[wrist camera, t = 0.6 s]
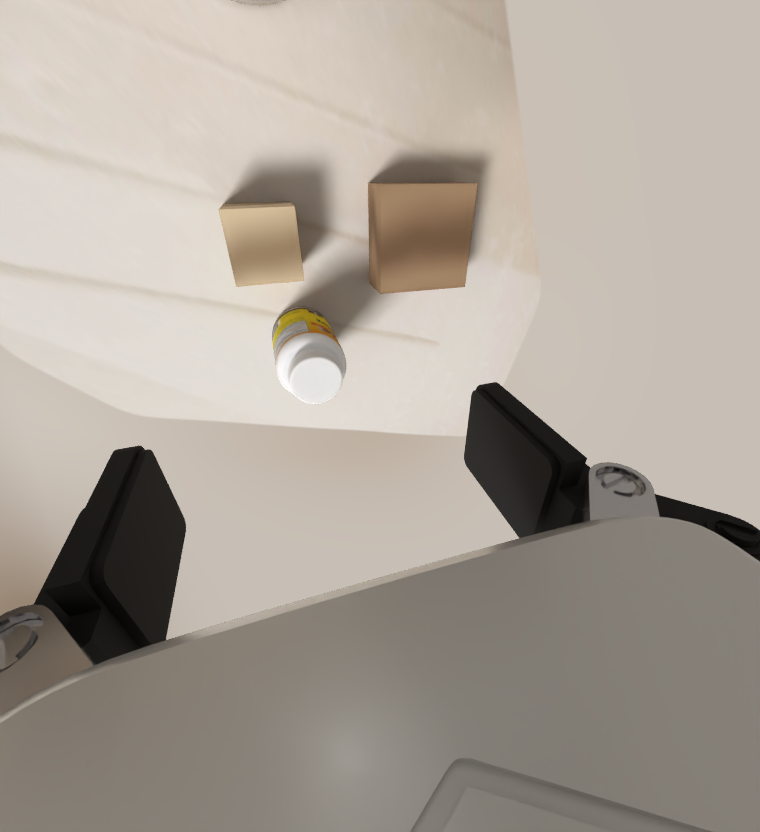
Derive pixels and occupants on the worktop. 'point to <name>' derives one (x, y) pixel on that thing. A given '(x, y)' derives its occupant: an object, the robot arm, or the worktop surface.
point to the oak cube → (262, 242)
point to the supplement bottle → (308, 355)
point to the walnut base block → (419, 235)
